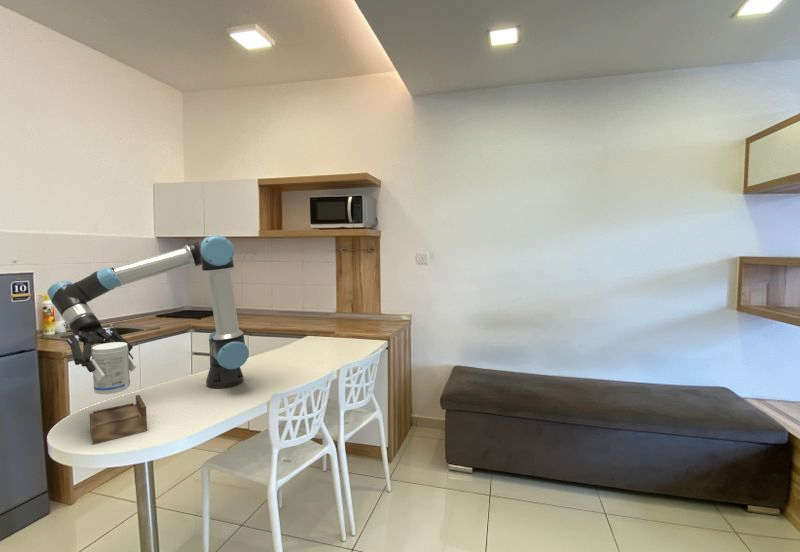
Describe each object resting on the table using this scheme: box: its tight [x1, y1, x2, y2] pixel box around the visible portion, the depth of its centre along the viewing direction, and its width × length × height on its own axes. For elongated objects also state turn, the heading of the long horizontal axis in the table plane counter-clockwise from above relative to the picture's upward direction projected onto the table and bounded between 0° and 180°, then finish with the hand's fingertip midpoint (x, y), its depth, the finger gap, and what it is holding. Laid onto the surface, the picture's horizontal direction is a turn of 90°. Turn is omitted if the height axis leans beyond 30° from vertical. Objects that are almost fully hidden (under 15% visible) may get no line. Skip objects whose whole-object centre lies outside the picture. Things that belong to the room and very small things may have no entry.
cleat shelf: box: [88, 394, 148, 445], centre depth 129 cm, size 14×14×8 cm
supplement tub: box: [91, 342, 131, 395], centre depth 127 cm, size 10×10×15 cm
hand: (118, 373), depth 126 cm, fingers closed on supplement tub, 10 cm apart
